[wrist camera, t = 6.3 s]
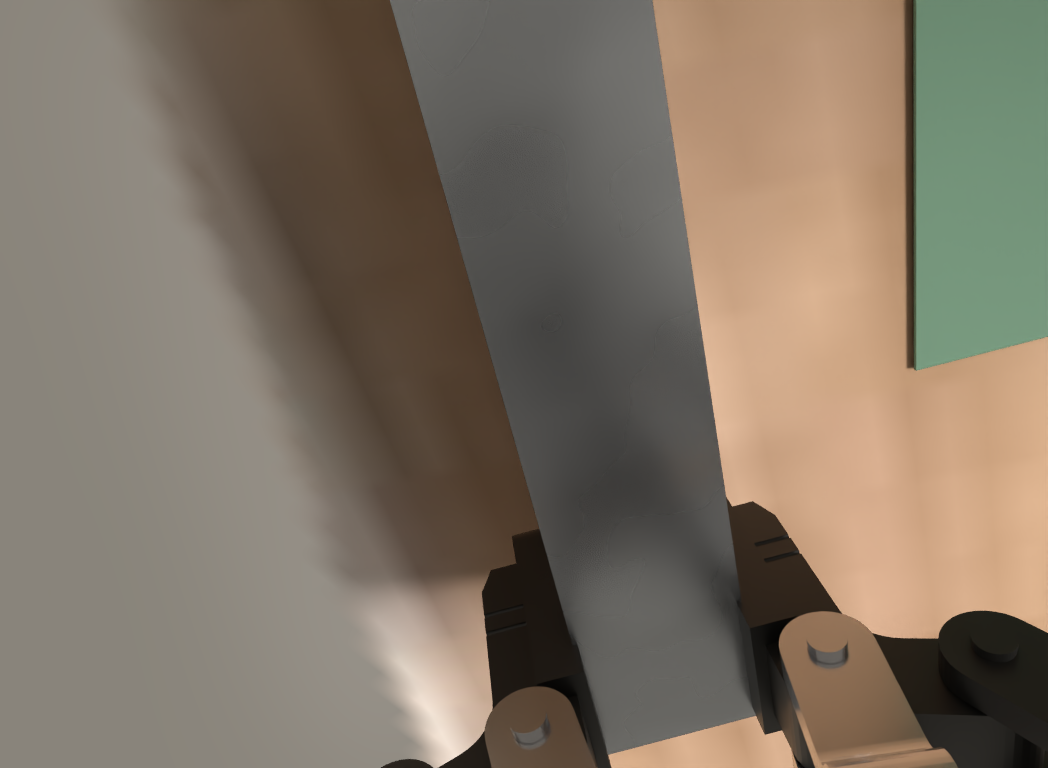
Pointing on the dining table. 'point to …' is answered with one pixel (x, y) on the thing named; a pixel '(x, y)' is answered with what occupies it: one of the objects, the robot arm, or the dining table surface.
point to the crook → (593, 336)
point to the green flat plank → (979, 177)
